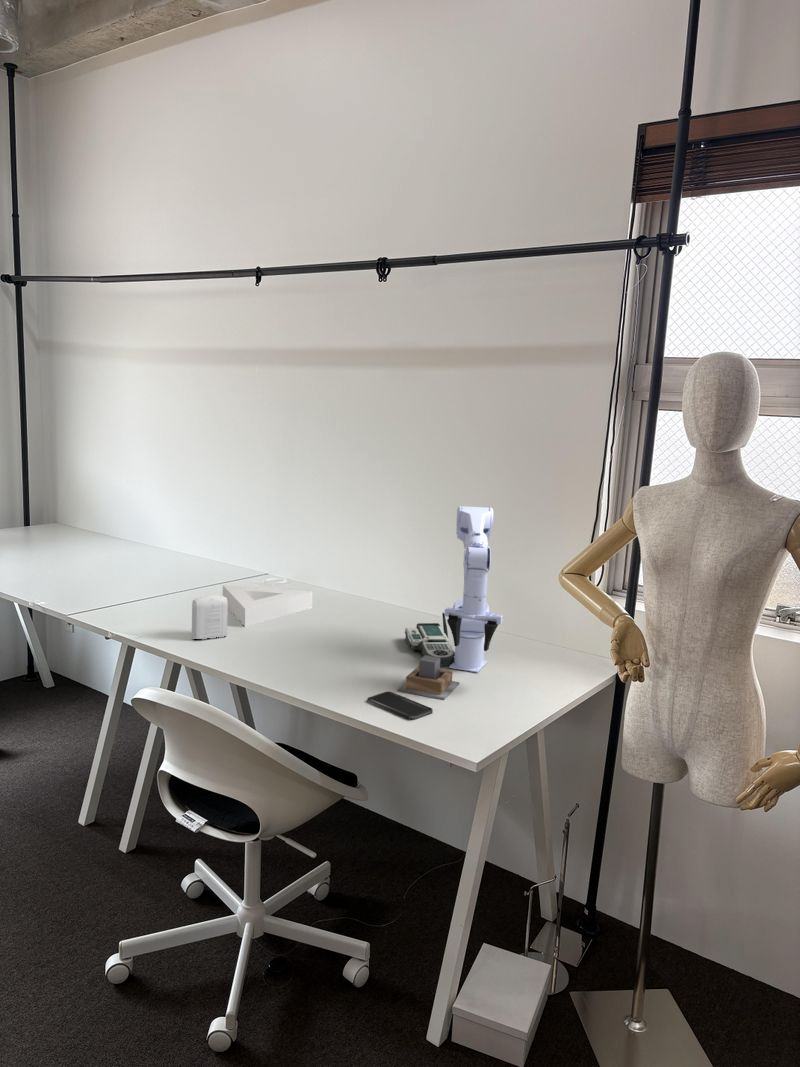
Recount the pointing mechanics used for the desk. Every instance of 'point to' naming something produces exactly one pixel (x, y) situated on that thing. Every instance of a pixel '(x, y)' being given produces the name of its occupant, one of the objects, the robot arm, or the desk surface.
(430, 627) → the communication device
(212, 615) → the white upright block
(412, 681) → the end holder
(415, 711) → the phone
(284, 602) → the triangle block
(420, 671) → the connector plug
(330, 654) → the desk surface
